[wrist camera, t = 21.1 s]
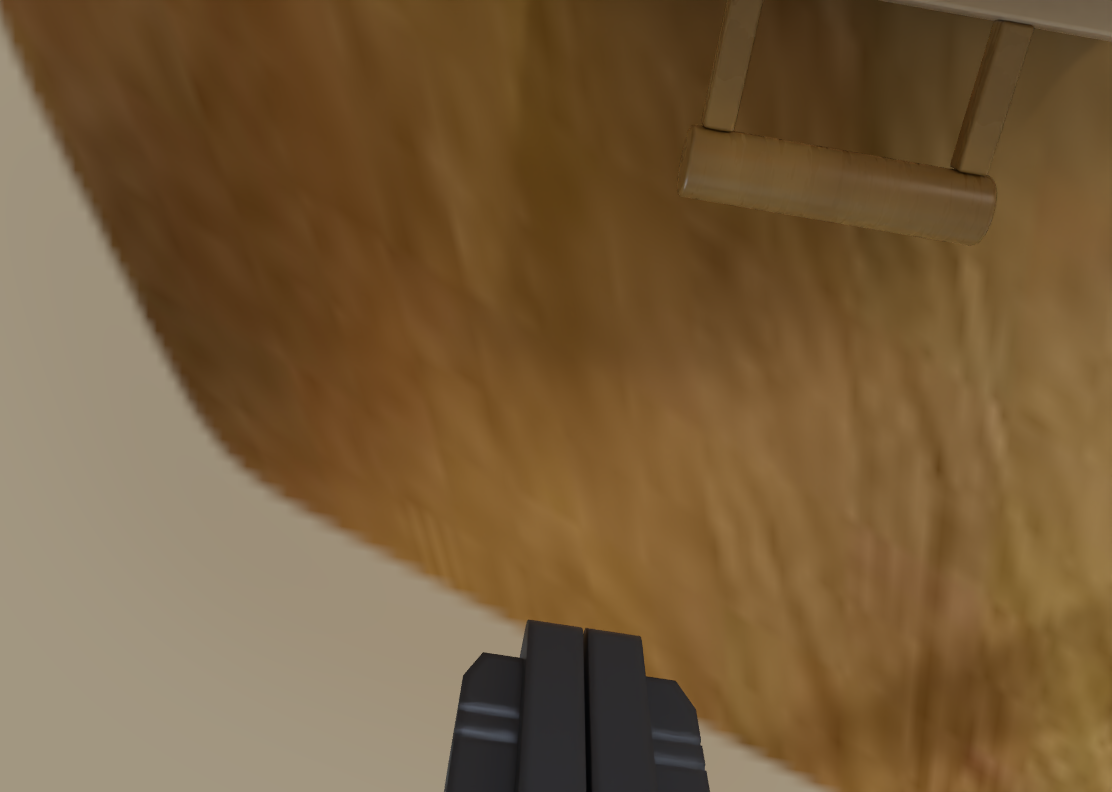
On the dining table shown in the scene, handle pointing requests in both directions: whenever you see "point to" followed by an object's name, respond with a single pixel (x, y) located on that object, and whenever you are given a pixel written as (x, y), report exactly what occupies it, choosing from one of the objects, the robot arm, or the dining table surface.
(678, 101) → the dining table surface
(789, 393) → the dining table surface
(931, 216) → the drawer
